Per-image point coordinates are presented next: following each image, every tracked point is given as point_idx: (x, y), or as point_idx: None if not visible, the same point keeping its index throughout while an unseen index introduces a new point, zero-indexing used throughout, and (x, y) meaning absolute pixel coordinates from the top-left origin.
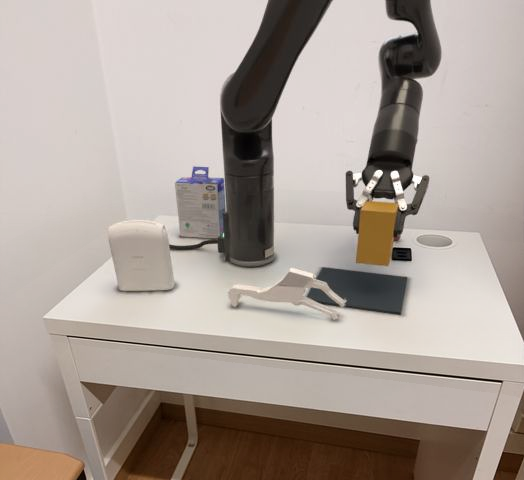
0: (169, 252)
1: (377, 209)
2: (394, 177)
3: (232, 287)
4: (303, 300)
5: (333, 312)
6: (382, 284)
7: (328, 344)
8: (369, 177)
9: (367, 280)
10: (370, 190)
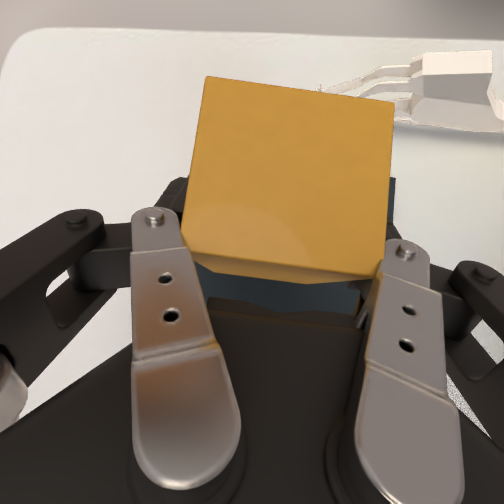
0: None
1: (304, 114)
2: (192, 371)
3: None
4: (405, 99)
5: None
6: (231, 276)
7: (326, 37)
8: (473, 457)
9: (267, 293)
10: (389, 288)
